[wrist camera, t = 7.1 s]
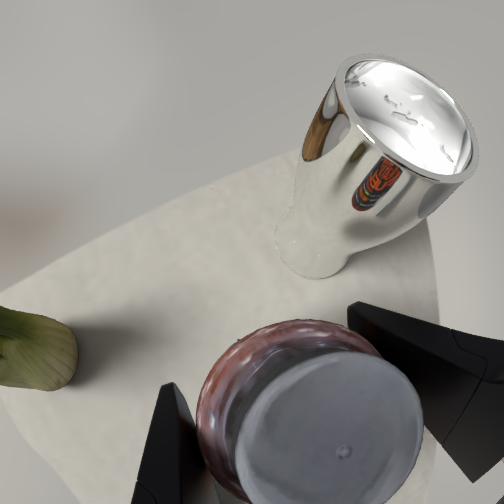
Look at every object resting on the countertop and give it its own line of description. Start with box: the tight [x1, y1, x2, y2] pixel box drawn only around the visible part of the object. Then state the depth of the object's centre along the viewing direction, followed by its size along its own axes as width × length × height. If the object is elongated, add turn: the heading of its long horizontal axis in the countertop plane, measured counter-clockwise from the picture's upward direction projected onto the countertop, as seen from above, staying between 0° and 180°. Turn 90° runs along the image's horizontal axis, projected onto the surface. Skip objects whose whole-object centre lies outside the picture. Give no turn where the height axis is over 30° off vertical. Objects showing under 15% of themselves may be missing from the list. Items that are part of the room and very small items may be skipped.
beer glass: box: [275, 54, 479, 279], centre depth 17 cm, size 7×7×15 cm
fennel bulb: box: [0, 306, 78, 391], centre depth 13 cm, size 6×5×12 cm
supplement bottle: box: [196, 319, 424, 504], centre depth 10 cm, size 6×6×11 cm
